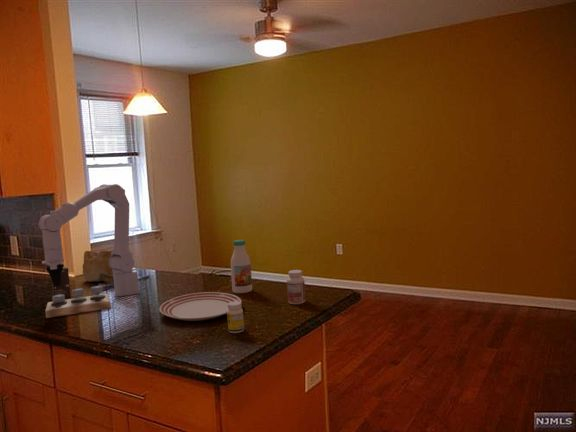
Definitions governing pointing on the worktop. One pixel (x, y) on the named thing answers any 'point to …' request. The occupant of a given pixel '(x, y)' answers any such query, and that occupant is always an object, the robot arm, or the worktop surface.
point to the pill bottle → (295, 287)
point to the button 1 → (58, 298)
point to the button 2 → (96, 289)
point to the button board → (78, 305)
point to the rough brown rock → (97, 267)
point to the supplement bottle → (235, 317)
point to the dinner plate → (198, 306)
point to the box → (63, 285)
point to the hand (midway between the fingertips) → (57, 285)
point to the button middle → (77, 292)
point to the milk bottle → (240, 268)
